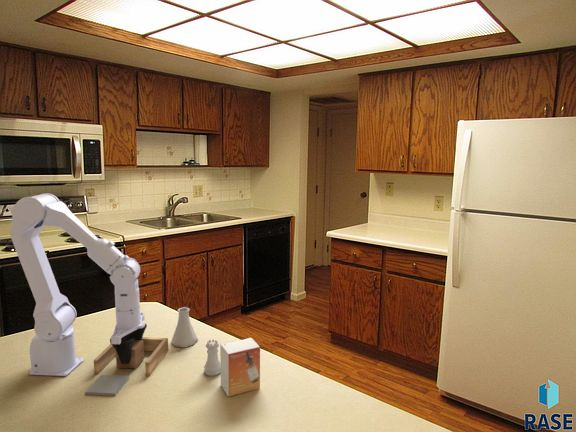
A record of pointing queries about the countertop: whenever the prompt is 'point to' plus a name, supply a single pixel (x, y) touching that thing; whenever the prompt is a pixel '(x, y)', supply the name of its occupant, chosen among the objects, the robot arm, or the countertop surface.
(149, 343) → the oak bracket
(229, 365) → the small box
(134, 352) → the walnut block
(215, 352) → the rook chess piece
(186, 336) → the flask
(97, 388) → the slate coaster
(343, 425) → the countertop surface
